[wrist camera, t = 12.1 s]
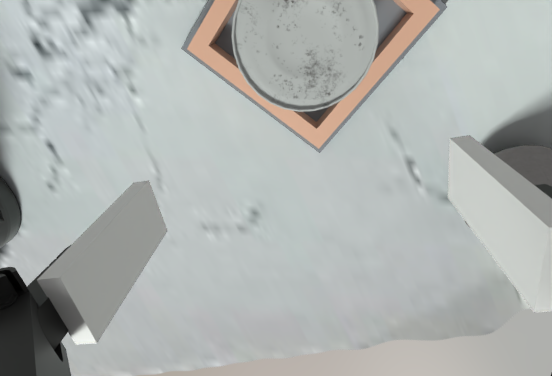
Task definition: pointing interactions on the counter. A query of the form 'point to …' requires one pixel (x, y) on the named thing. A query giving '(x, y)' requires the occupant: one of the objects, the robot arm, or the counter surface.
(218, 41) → the docking cradle
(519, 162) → the coffee pot
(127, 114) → the counter surface
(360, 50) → the grey stone cylinder
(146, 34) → the counter surface
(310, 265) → the counter surface
